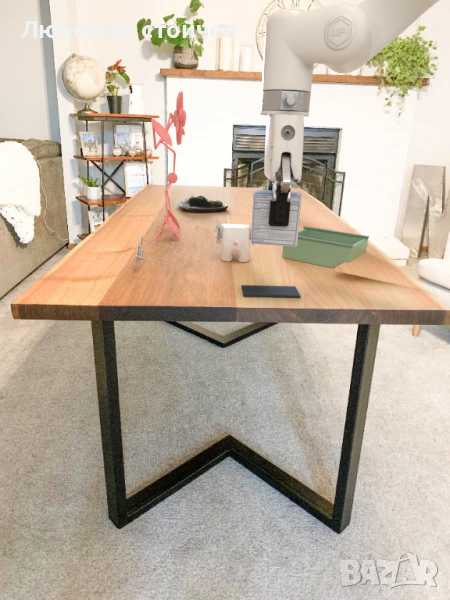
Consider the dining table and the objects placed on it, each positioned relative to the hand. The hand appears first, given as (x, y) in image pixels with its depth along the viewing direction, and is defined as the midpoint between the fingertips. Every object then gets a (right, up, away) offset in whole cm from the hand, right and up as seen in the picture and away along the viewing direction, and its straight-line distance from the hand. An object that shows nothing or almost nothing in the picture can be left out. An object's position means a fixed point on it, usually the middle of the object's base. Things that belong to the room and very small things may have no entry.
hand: (275, 221), depth 75 cm
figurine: (-20, +4, +43) cm, 48 cm away
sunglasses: (-23, -6, +19) cm, 30 cm away
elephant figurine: (-6, -4, +25) cm, 26 cm away
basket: (+14, -4, +27) cm, 31 cm away
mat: (-1, -12, +5) cm, 13 cm away
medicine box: (0, -4, +1) cm, 4 cm away
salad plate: (-17, +19, +82) cm, 86 cm away
